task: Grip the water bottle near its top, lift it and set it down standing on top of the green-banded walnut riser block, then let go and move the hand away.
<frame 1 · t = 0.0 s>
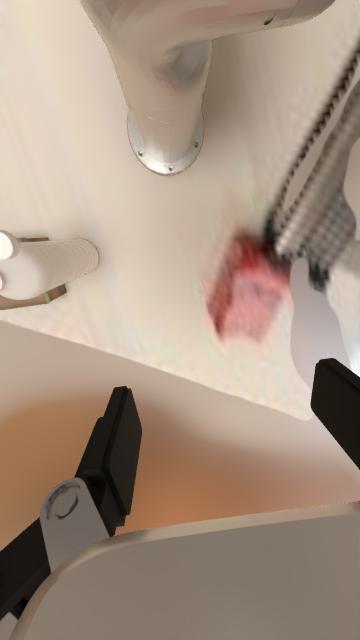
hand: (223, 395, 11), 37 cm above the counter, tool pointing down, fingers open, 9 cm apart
water bottle: (86, 251, 42), on the counter
riser: (31, 270, 43), on the counter
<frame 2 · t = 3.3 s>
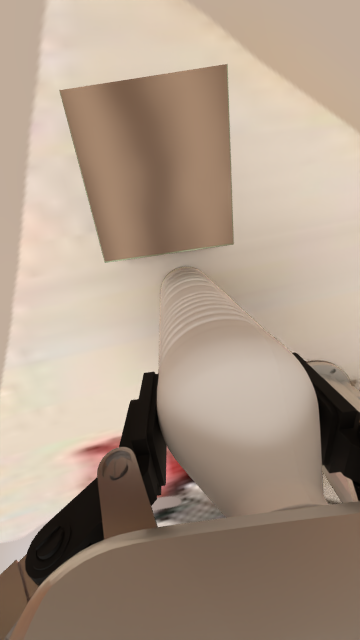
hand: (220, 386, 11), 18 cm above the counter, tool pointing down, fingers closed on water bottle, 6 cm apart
water bottle: (191, 296, 28), on the counter, touching gripper
riser: (161, 195, 23), on the counter
when the fingers open (27 cm above the counter, at t = 7.6 s): water bottle drops 2 cm, resting on riser.
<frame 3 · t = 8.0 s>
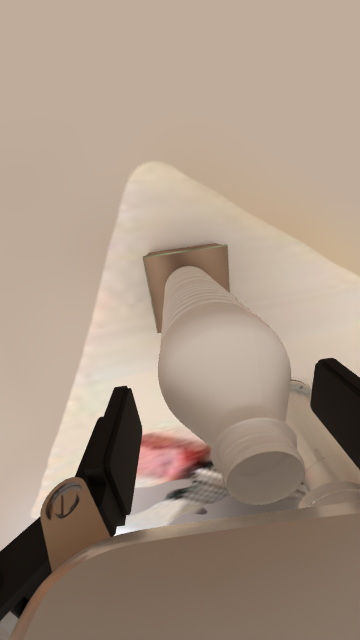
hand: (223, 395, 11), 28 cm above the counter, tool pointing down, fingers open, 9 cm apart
water bottle: (193, 294, 30), point 8 cm above the counter, touching riser
riser: (186, 280, 37), on the counter
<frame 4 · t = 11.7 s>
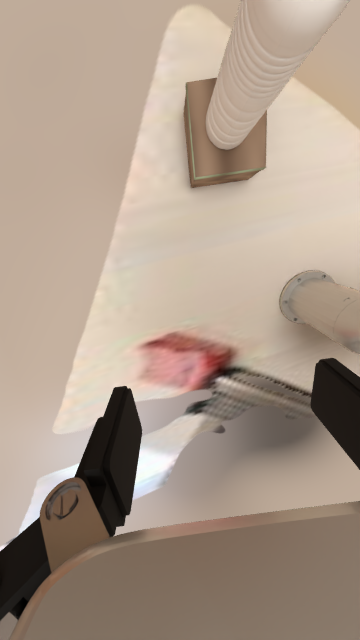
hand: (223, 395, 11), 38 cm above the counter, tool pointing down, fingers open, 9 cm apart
water bottle: (232, 130, 31), point 8 cm above the counter, touching riser
riser: (217, 148, 38), on the counter
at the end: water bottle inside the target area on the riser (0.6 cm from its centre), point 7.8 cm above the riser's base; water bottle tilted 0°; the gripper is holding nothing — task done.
